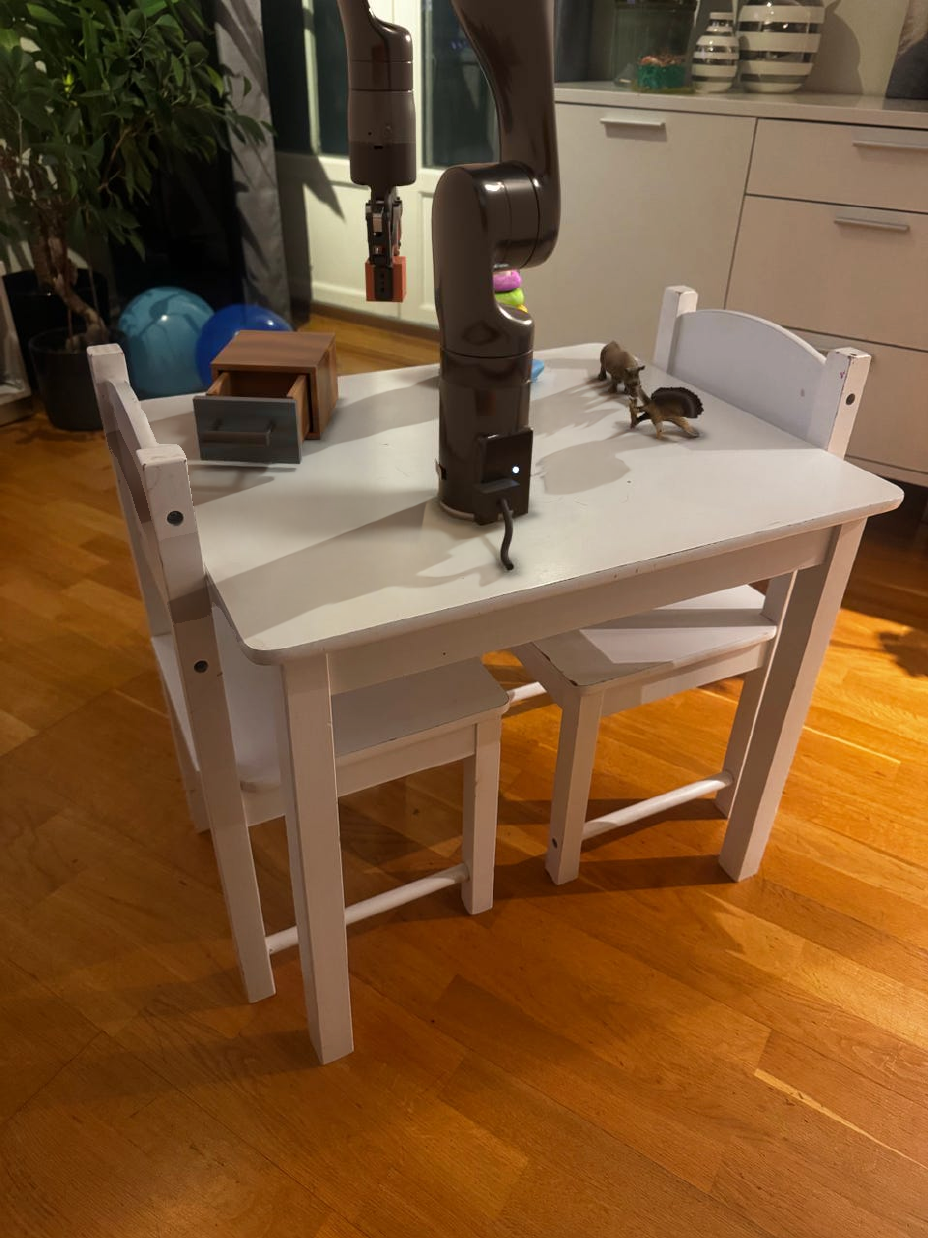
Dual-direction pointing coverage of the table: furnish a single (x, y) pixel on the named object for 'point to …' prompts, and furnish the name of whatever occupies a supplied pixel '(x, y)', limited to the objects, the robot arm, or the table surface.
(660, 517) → the table surface
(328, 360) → the cabinet
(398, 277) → the block
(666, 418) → the brown plastic figure
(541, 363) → the stacking toy
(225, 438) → the drawer
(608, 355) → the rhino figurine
